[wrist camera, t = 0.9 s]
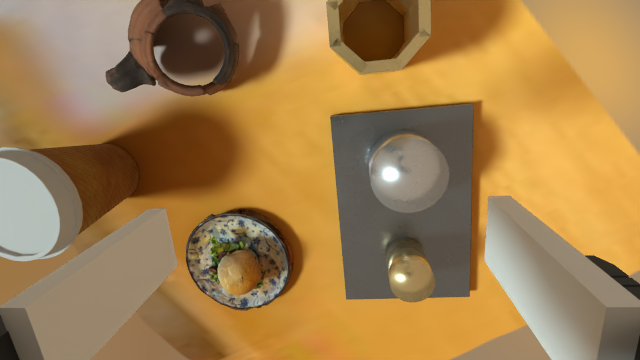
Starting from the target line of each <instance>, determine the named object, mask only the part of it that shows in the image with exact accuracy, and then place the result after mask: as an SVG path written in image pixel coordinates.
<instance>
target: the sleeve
mask: <svg viewBox="0 0 640 360" xmlns="http://www.w3.org/2000/svg"><path fill="white" fill-rule="evenodd" d="M367 1H375V0H328V1H327V2H326V5H327V17H328V29H329V41H330V48H331V49H332V50H333V51H334V52H335V53H336V55H338V56H339V57H340V58H341V59H342V60H343V61H344V62H346V63H347V64H348V65H349V66H350V67H351V68H352V69H354V70H355V71H356V72H357V73H358V74H359V75H367V74H376V73H386V72H394V71H398V70H402V69H403V68H404V67H405V65H406V64H407V63H408V62H409V61H410V60H411V58H412V57H413V56H414V55H415V54H416V53H417V51H418V50H419V49H420V48H421V47H422V46H423V44H424V43H425V42H426V41H427V40H428V39H429V37H430V36H431V0H386V1H387V2H388V3H389V4H390V5H391V6H393V7H394V8H395V9H396V10H397V11H398V12H399V13H400V14H401V15H402V16H404V44H403V45H402V47H401V48H400V49H399V50H398V51H397V53H396V54H395V55H394V56H393V57H392V58H391V59H387V60H378V61H368V62H364V61H363V60H362V59H361V58H360V57H359V56H357V55H356V54H355V53H354V52H353V51H352V50H351V49H350V48H348V47H347V46H346V45H345V44H344V32H343V23H344V22H345V20H346V19H347V18H348V17H349V15H350V14H351V13H352V11H353V10H354V9H355V7H356V6H357V5H358V3H360V2H367Z"/></svg>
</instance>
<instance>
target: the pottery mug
mask: <svg viewBox="0 0 640 360" xmlns="http://www.w3.org/2000/svg"><path fill="white" fill-rule="evenodd" d="M164 1H166V0H141V1H140V2H139V3H138V4H137V5H136V7H135V9H134V10H133V13H132V15H131V20H130V25H129V28H128V40H129V42H130V51H129V52H128V54H127V55H126V57H125V58H124V59H123V60H122V61H121V62H120V63H119V64H118V65H116V67H114V68H112V69H110V70H108V71H106V80H107V83H109V84H110V85H111V86H112V87H113V89H115V90H118V91H120V92H126V91H128V90H131V89H133V88H136V87H138V86H140V85H143V84H149V85H153V86H155V85H156V82H155V80H157V81H158V82H159V83H158V84H159V85H160V86H161V87H164V88H166V89H168V90H171V91H173V92H175V93H178V94H181V95H186V96H200V95H204V94H207V93H208V94H209V95H212V94H215V93H216V92H218V91H220V90H221V89H223V88H224V87H225V86H226V84H227V83H229V82H230V81H231V80H232V77H233V75H234V73H235V70H236V67H237V63H238V58H239V45H238V43H236V39H237V35H236V33H235V30H234V28H233V26H232V25H231V23H230V21H229V19H228V17H227V15H226V13H225V11H224V9H223V7H222V5H221V4H220V3H218V4H216V5H213V6H210V7H205V6H204V4H203V1H202V0H170V1H169V2H168V3H167V5H166V6H165V7H164V8H163V6H162V4H161V3H162V2H164ZM182 13H188V14H195V15H198V16H201V17H203V18H206V19H207V20H208V21H210V22H211V23H212V24H213V25H214V26H215V27H216V28H217V30H218V31H219V33H220V34H221V37H222V39H223V42H224V46H225V59H224V63H223V66H222V68H221V70H220V72H219V73H218V75H217V76H216V77H215V78H214V80H213V81H212V82H211V83H209V84H207V85H204V86H201V85H197V86H189V85H183V84H180V83H178V82H176V81H174V80H172V79H170V78H169V77H168V76H167V75H166V74H165V73H163V72H162V70H161V69H160V67H159V65H158V63H157V61H156V59H155V56H154V50H153V43H154V38H155V34H156V32H157V30H158V29H159V27H160V26H161V25H162V23H164V22H165V21H166V20H167V19H168V18H169V17H172V16H174V15H177V14H182Z"/></svg>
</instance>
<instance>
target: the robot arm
mask: <svg viewBox="0 0 640 360" xmlns="http://www.w3.org/2000/svg"><path fill="white" fill-rule="evenodd" d="M484 261H485V262H486V264H487V265H488V267H489V268H490V270H491V271H492V273H493V274H494V276H495V277H496V279H497V280H498V281H499V283H500V284H501V286H502V287H503V289H504V290H505V292H506V293H507V295H508V296H509V298H510V299H511V301H512V302H513V304H514V305H515V306H516V308H517V309H518V311H519V312H520V314H521V315H522V317H523V318H524V320H525V321H526V323H527V324H528V326H529V327H530V328H531V330H532V331H533V333H534V334H535V336H536V337H537V339H538V340H539V342H540V343H541V345H542V346H543V348H544V349H545V351H546V352H547V354H548V355H549V356H550V358H551V359H552V360H640V284H639V283H638V282H636V281H635V280H634V279H632V278H629V277H628V275H627V274H626V273H624V272H623V271H622V270H620V269H619V268H618V267H616V266H615V265H613V264H611V263H609V262H607V261H605V260H602V259H600V258H598V257H596V256H584V255H583V254H582V253H580V252H579V251H578V250H577V249H575V248H574V247H573V246H572V245H570V244H569V243H568V242H567V241H565V240H564V239H563V238H562V237H560V236H559V235H558V234H557V233H555V232H554V231H553V230H552V229H551V228H549V227H548V226H547V225H546V224H544V223H543V222H542V221H541V220H539V219H538V218H537V217H536V216H534V215H533V214H532V213H531V212H529V211H528V210H527V209H526V208H524V207H523V206H522V205H521V204H519V203H518V202H517V201H516V200H514V199H513V198H512V197H511V196H490V197H489V198H488V213H487V229H486V244H485V259H484ZM177 266H178V264H177V259H176V255H175V250H174V245H173V241H172V236H171V232H170V227H169V222H168V218H167V213H166V208H162V209H148V210H146V211H145V212H143V213H142V214H140V215H139V216H137V217H136V218H134V219H133V220H131V221H130V222H128V223H127V224H125V225H123V226H122V227H120V228H119V229H117V230H116V231H114V232H113V233H111V234H110V235H108V236H107V237H105V238H104V239H102V240H101V241H99V242H98V243H96V244H94V245H93V246H91V247H90V248H88V249H87V250H85V251H84V252H82V253H81V254H79V255H78V256H76V257H75V258H73V259H72V260H70V261H69V262H67V263H65V264H64V265H63V266H61V267H59V268H58V269H56V270H55V271H53V272H52V273H50V274H49V275H47V276H46V277H44V278H43V279H41V280H40V281H38V282H36V283H35V284H33V285H32V286H30V287H29V288H27V289H26V290H24V291H23V292H21V293H20V294H18V295H17V296H15V297H14V298H12V299H11V300H9V301H7V302H6V303H4V304H3V305H1V306H0V360H91V359H92V358H93V357H94V356H95V355H96V353H97V352H98V351H99V350H100V349H101V348H102V347H103V346H104V345H105V344H106V343H107V342H108V341H109V340H110V338H111V337H112V336H113V335H114V334H115V333H116V332H117V331H118V330H119V329H120V328H121V326H122V325H123V324H124V323H125V322H126V321H127V320H128V319H129V318H130V317H131V316H132V315H133V314H134V312H135V311H136V310H137V309H138V308H139V307H140V306H141V305H142V304H143V303H144V302H145V301H146V300H147V299H148V297H149V296H150V295H151V294H152V293H153V292H154V291H155V290H156V289H157V288H158V287H159V286H160V284H161V283H162V282H163V281H164V280H165V279H166V278H167V277H168V276H169V275H170V274H171V273H172V272H173V270H174V269H175V268H176V267H177Z"/></svg>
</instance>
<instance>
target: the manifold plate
mask: <svg viewBox="0 0 640 360" xmlns="http://www.w3.org/2000/svg"><path fill="white" fill-rule="evenodd" d="M330 118H331V130H332V141H333V152H334V164H335V175H336V186H337V198H338V209H339V221H340V232H341V243H342V255H343V266H344V277H345V289H346V299H389V298H399V299H401V300H403V301H406V302H419V301H422V300H424V299H426V298H435V297H470V250H471V199H472V148H473V104H471V103H467V104H456V105H445V106H434V107H422V108H411V109H400V110H388V111H377V112H366V113H354V114H343V115H332V116H330Z"/></svg>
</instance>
